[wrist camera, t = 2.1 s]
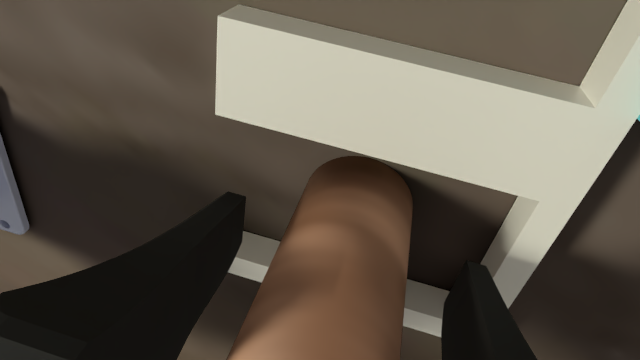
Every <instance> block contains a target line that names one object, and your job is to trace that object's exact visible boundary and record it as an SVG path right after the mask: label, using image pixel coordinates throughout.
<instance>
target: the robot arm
mask: <svg viewBox="0 0 640 360" xmlns="http://www.w3.org/2000/svg"><path fill="white" fill-rule="evenodd" d="M245 201H246V197H245V196H242V195H238V194H235V193H231V192H227V193H225V194H223V195H222V196H220V197H219V198H218V199H216V200H215V201H213V202H212V203H210V204H209V205H208V206H206V207H205V208H203V209H202V210H200V211H199V212H197V213H196V214H194V215H193V216H191V217H190V218H188V219H187V220H185V221H183V222H182V223H180V224H179V225H177V226H176V227H174V228H172V229H170V230H169V231H167V232H165V233H163V234H162V235H160V236H158V237H157V238H155V239H153V240H151V241H149V242H147V243H145V244H144V245H142V246H140V247H138V248H135V249H133V250H131V251H129V252H127V253H125V254H123V255H120V256H118V257H116V258H113V259H111V260H108V261H106V262H103V263H101V264H98V265H95V266H93V267H90V268H88V269H85V270H82V271H79V272H76V273H73V274H70V275H67V276H63V277H60V278H57V279H54V280H50V281H47V282H43V283H39V284H35V285H31V286H27V287H23V288H19V289H15V290H11V291H7V292H2V293H1V294H0V360H177V358H178V356H179V354H180V352H181V350H182V348H183V346H184V344H185V342H186V340H187V338H188V336H189V334H190V332H191V330H192V328H193V327H194V325H195V323H196V322H197V320H198V318H199V317H200V315H201V314H202V312H203V311H204V309H205V307H206V306H207V304H208V303H209V301H210V299H211V298H212V296H213V295H214V293H215V292H216V290H217V288H218V287H219V285H220V284H221V282H222V280H223V279H224V277H225V275H226V274H227V272H228V271H229V269H230V267H231V265H232V263H233V261H234V259H235V257H236V254H237V252H238V250H239V248H240V246H241V243H242V237H243V225H244V213H245ZM0 229H2V230H5V231H9V232H12V233H15V234H20V235H21V234H24V233H25V232H26V231H28V230H29V223H28V220H27V216H26V213H25V210H24V207H23V204H22V200H21V197H20V194H19V191H18V188H17V184H16V181H15V178H14V175H13V172H12V169H11V165H10V162H9V159H8V156H7V153H6V149H5V146H4V143H3V140H2V137H1V134H0ZM441 341H442V360H537V358H536V357H535V355H534V353H533V352H532V350H531V349H530V347H529V345H528V344H527V342H526V340H525V339H524V337H523V335H522V334H521V332H520V330H519V328H518V326H517V325H516V323H515V321H514V319H513V317H512V316H511V314H510V312H509V310H508V308H507V306H506V304H505V302H504V300H503V298H502V296H501V294H500V292H499V290H498V288H497V286H496V284H495V282H494V280H493V278H492V276H491V274H490V272H489V270H488V268H487V266H485V265H481V264H478V263H474V262H471V261H468V260H466V262H465V264H464V266H463V268H462V269H461V271H460V273H459V275H458V277H457V279H456V281H455V283H454V285H453V286H452V288H451V290H450V292H449V294H448V296H447V298H446V300H445V302H444V308H443V318H442V330H441Z"/></svg>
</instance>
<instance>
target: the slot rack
mask: <svg viewBox="0 0 640 360" xmlns="http://www.w3.org/2000/svg"><path fill="white" fill-rule="evenodd" d="M215 114H216V115H219V116H223V117H227V118H231V119H234V120H238V121H242V122H245V123H249V124H253V125H257V126H260V127H264V128H268V129H271V130H275V131H279V132H283V133H286V134H290V135H294V136H298V137H301V138H305V139H309V140H312V141H316V142H320V143H324V144H327V145H331V146H335V147H339V148H342V149H346V150H350V151H353V152H357V153H361V154H365V155H368V156H372V157H376V158H380V159H383V160H387V161H391V162H394V163H398V164H402V165H406V166H409V167H413V168H417V169H421V170H424V171H428V172H432V173H435V174H439V175H443V176H447V177H450V178H454V179H458V180H462V181H465V182H469V183H473V184H476V185H480V186H484V187H488V188H491V189H495V190H499V191H503V192H506V193H510V194H514V195H517V196H518V197H517V199H516V201H515V203H514V204H513V206H512V208H511V210H510V211H509V213H508V215H507V217H506V219H505V220H504V222H503V224H502V226H501V228H500V229H499V231H498V233H497V235H496V236H495V238H494V240H493V242H492V244H491V245H490V247H489V249H488V251H487V253H486V254H485V256H484V258H483V260H482V261H481V263H480V264H481V265H485V266H487V268H488V270H489V272H490V274H491V276H492V278H493V280H494V282H495V284H496V286H497V288H498V290H499V292H500V294H501V296H502V298H503V300H504V302H505V304H506V306H507V308H508V309H509V307H510V306H511V304H512V303H513V301H514V300H515V298H516V297H517V295H518V294H519V292H520V291H521V289H522V288H523V286H524V285H525V283H526V282H527V280H528V279H529V277H530V276H531V275H532V273H533V272H534V270H535V269H536V267H537V266H538V264H539V263H540V261H541V260H542V258H543V257H544V255H545V254H546V252H547V251H548V249H549V248H550V246H551V245H552V243H553V242H554V241H555V239H556V238H557V236H558V235H559V233H560V232H561V230H562V229H563V227H564V226H565V224H566V223H567V221H568V220H569V218H570V217H571V215H572V214H573V212H574V211H575V209H576V208H577V207H578V205H579V204H580V202H581V201H582V199H583V198H584V196H585V195H586V193H587V192H588V190H589V189H590V187H591V186H592V184H593V183H594V181H595V180H596V178H597V177H598V175H599V174H600V173H601V171H602V170H603V168H604V167H605V165H606V164H607V162H608V161H609V159H610V158H611V156H612V155H613V153H614V152H615V150H616V149H617V147H618V146H619V144H620V143H621V142H622V140H623V139H624V137H625V136H626V134H627V133H628V131H629V130H630V128H631V127H632V125H633V124H634V122H635V121H636V119H638V120H639V121H640V0H628V1H627V2H626V4H625V6H624V8H623V10H622V11H621V13H620V15H619V17H618V19H617V20H616V22H615V24H614V26H613V27H612V29H611V31H610V33H609V35H608V36H607V38H606V40H605V42H604V44H603V45H602V47H601V49H600V51H599V53H598V54H597V56H596V58H595V60H594V61H593V63H592V65H591V67H590V69H589V70H588V72H587V74H586V76H585V78H584V79H583V81H582V83H581V85H580V86H575V85H571V84H567V83H563V82H559V81H555V80H551V79H546V78H542V77H538V76H534V75H530V74H526V73H522V72H517V71H513V70H509V69H505V68H501V67H497V66H493V65H488V64H484V63H480V62H476V61H472V60H468V59H464V58H459V57H455V56H451V55H447V54H443V53H439V52H435V51H430V50H426V49H422V48H418V47H414V46H410V45H406V44H401V43H397V42H393V41H389V40H385V39H381V38H376V37H372V36H368V35H364V34H360V33H356V32H352V31H347V30H343V29H339V28H335V27H331V26H327V25H323V24H318V23H314V22H310V21H306V20H302V19H298V18H294V17H289V16H285V15H281V14H277V13H273V12H269V11H265V10H260V9H256V8H252V7H248V6H244V5H240V4H239V5H237V6H235V7H233V8H231V9H229V10H228V11H226V12H224V13H222V14H220V15H218V26H217V66H216V106H215ZM279 244H280V241H277V240H273V239H270V238H266V237H263V236H260V235H256V234H253V233H249V232H246V231H243V237H242V243H241V246H240V248H239V250H238V252H237V254H236V257H235V259H234V261H233V263H232V265H231V267H230V269H229V271H228V273H232V274H235V275H238V276H242V277H245V278H248V279H251V280H255V281H258V282H261V283H262V281H263V279H264V277H265V275H266V272H267V270H268V268H269V266H270V264H271V262H272V259H273V257H274V255H275V253H276V251H277V249H278V246H279ZM449 292H450V291H447V290H443V289H440V288H437V287H433V286H430V285H426V284H423V283H420V282H416V281H413V280H409V279H407V283H406V294H405V306H404V318H403V326H406V327H409V328H412V329H416V330H419V331H422V332H425V333H429V334H432V335H435V336H439V337H441V330H442V318H443V308H444V302H445V300H446V298H447V296H448V294H449Z"/></svg>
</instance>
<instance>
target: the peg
mask: <svg viewBox="0 0 640 360" xmlns="http://www.w3.org/2000/svg"><path fill="white" fill-rule="evenodd" d="M412 213H413V199H412V195H411V192H410V190H409V188H408V186H407V184H406V182H405V181H404V180H403V178H402V177H401V176H400V175H399V174H398V173H397V172H396V171H394V170H393V169H392V168H390V167H389V166H387V165H385V164H383V163H381V162H379V161H377V160H374V159H371V158H366V157H359V156H347V157H340V158H336V159H333V160H331V161H328V162H326V163H325V164H323V165H321V166H320V167H319V168H318V169H317V170H316V171H315V172H314V173H313V174H312V176H311V177H310V179H309V181H308V183H307V186H306V188H305V190H304V192H303V194H302V196H301V199H300V201H299V203H298V205H297V207H296V209H295V212H294V214H293V216H292V218H291V220H290V222H289V225H288V227H287V229H286V231H285V233H284V235H283V238H282V240H281V242H280V244H279V246H278V249H277V251H276V253H275V255H274V257H273V259H272V262H271V264H270V266H269V268H268V270H267V272H266V275H265V277H264V279H263V281H262V283H261V285H260V288H259V290H258V292H257V294H256V296H255V298H254V301H253V303H252V305H251V307H250V309H249V311H248V314H247V316H246V318H245V320H244V322H243V325H242V327H241V329H240V331H239V333H238V335H237V338H236V340H235V342H234V344H233V346H232V348H231V351H230V353H229V355H228V357H227V359H226V360H400V352H401V341H402V329H403V318H404V306H405V294H406V283H407V271H408V260H409V248H410V236H411V225H412Z"/></svg>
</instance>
